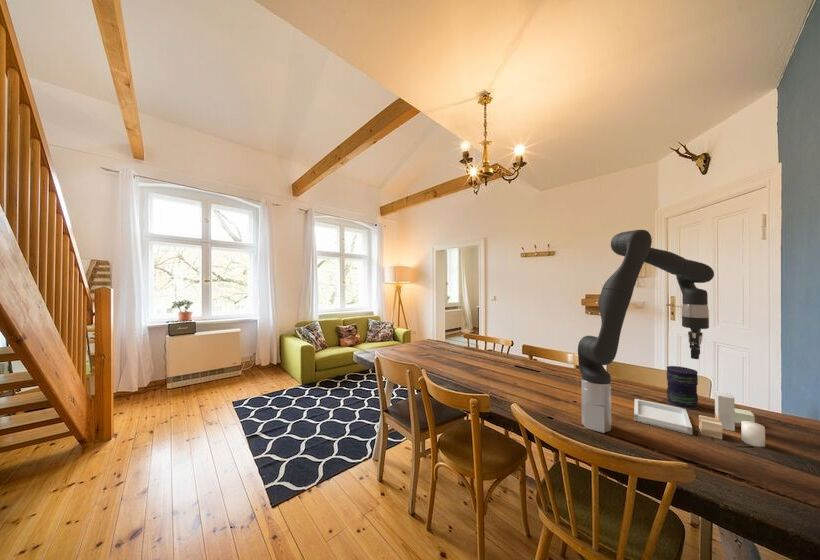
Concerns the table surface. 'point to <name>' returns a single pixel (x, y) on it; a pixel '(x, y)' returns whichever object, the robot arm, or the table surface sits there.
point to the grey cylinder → (753, 433)
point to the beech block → (710, 427)
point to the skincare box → (725, 410)
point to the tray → (662, 416)
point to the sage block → (743, 416)
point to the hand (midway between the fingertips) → (695, 356)
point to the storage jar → (682, 387)
